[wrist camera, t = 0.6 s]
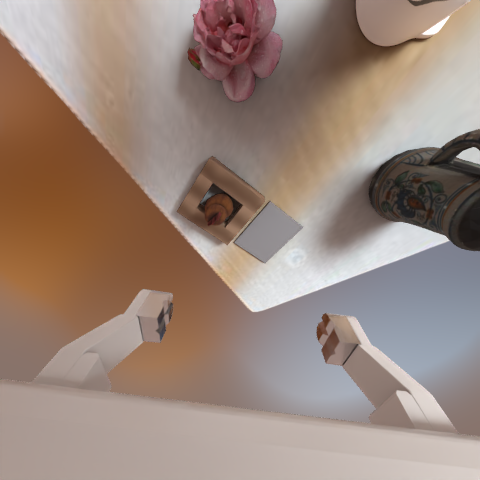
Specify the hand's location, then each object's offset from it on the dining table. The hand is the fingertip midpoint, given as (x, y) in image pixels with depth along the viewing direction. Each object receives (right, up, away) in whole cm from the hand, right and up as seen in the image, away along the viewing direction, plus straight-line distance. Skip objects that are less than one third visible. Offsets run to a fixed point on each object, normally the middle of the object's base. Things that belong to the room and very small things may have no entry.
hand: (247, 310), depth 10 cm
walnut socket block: (-5, +14, +40) cm, 43 cm away
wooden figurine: (-5, +14, +41) cm, 43 cm away
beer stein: (+38, +18, +35) cm, 55 cm away
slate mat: (+8, +5, +45) cm, 45 cm away
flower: (-1, +39, +26) cm, 47 cm away
